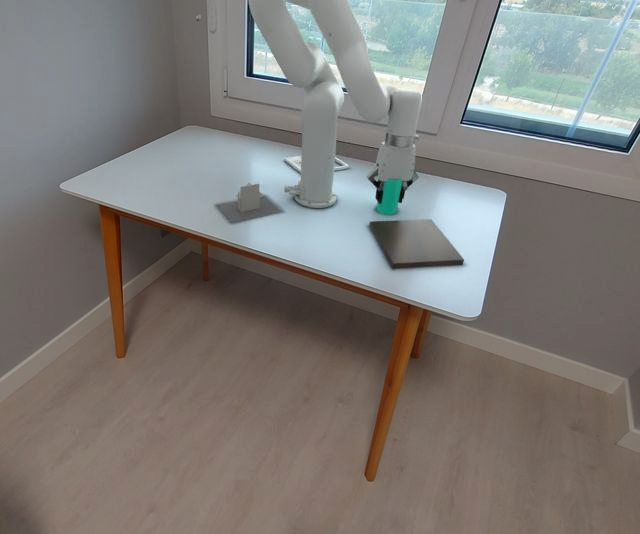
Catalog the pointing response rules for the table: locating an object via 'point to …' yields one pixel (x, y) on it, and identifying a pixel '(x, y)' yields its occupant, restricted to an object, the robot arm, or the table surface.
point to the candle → (390, 197)
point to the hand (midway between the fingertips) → (389, 200)
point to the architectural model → (248, 205)
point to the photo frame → (296, 163)
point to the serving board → (414, 244)
